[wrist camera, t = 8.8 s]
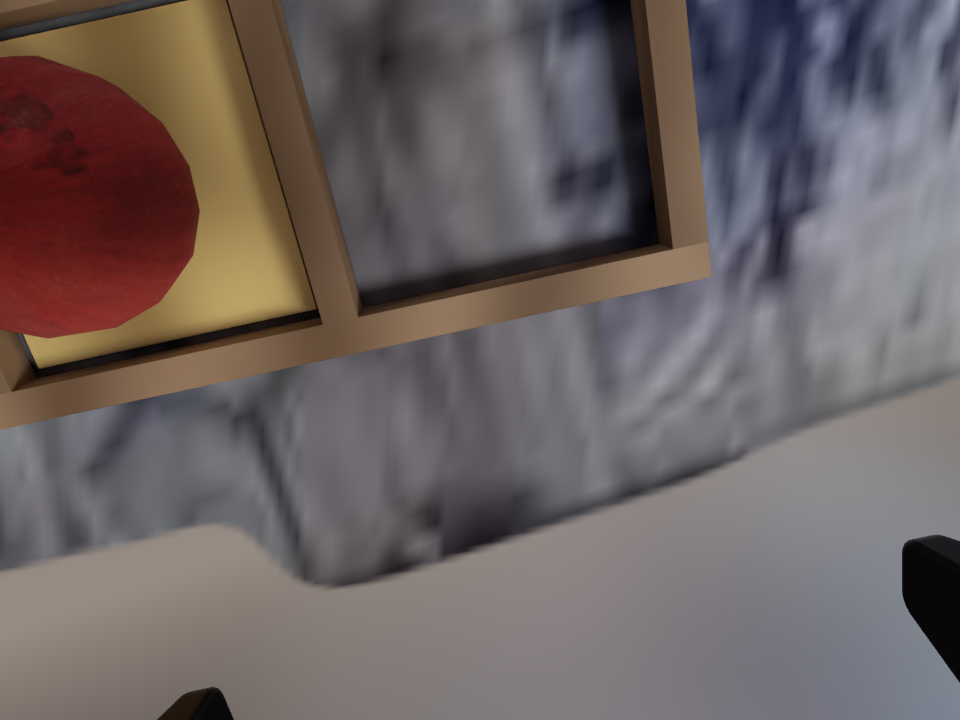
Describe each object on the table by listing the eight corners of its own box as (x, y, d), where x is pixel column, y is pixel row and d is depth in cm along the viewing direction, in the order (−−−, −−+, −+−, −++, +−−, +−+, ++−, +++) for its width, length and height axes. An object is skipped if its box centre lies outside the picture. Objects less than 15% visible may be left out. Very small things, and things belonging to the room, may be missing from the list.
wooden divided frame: (651, -162, 16) (667, -187, 15) (695, 269, 19) (711, 276, 18) (-166, 20, 16) (-213, 9, 15) (19, 415, 19) (-8, 431, 18)
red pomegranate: (-14, 97, 17) (-406, 42, 9) (206, 64, 17) (5, -18, 9) (63, 312, 18) (-211, 421, 11) (261, 283, 18) (131, 369, 11)
